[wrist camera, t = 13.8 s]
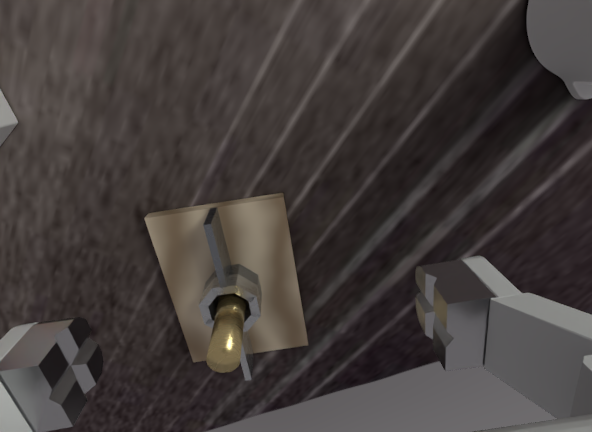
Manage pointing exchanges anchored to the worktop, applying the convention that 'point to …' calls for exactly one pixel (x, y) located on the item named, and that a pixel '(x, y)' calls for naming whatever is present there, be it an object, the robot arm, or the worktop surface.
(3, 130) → the jar
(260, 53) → the worktop surface
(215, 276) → the grey metal ringed bar
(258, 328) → the birch board
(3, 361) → the robot arm
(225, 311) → the pin
